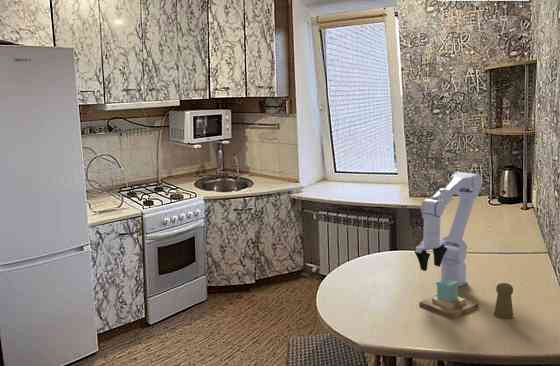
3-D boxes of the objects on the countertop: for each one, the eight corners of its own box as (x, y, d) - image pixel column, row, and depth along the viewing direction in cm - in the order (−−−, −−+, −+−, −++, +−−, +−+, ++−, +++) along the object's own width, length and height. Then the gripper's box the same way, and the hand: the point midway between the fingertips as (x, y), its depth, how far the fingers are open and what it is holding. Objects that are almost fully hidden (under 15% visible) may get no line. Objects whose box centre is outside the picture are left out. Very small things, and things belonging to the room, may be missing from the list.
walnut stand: (444, 295, 199) (445, 287, 198) (478, 307, 188) (478, 299, 187) (419, 305, 191) (419, 297, 191) (452, 318, 180) (452, 310, 179)
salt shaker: (501, 320, 177) (503, 288, 175) (489, 313, 183) (491, 282, 181) (517, 317, 179) (518, 286, 177) (505, 310, 185) (506, 280, 183)
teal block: (445, 294, 193) (445, 278, 192) (457, 298, 189) (458, 281, 188) (437, 298, 190) (437, 282, 188) (449, 302, 186) (450, 285, 185)
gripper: (435, 226, 203) (434, 261, 206) (409, 233, 195) (408, 269, 197) (451, 230, 198) (450, 266, 200) (425, 237, 189) (424, 274, 192)
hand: (430, 268), depth 198 cm, fingers open, 7 cm apart
